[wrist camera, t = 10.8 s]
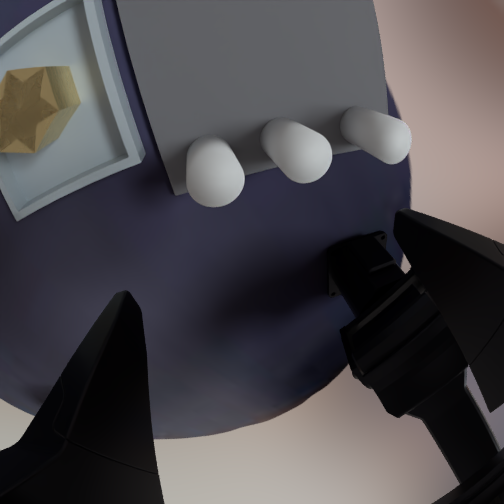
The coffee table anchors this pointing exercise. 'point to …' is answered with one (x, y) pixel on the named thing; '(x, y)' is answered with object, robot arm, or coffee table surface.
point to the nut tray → (85, 117)
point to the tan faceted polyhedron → (35, 107)
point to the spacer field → (259, 88)
